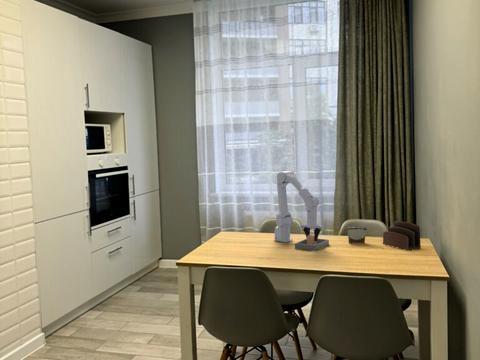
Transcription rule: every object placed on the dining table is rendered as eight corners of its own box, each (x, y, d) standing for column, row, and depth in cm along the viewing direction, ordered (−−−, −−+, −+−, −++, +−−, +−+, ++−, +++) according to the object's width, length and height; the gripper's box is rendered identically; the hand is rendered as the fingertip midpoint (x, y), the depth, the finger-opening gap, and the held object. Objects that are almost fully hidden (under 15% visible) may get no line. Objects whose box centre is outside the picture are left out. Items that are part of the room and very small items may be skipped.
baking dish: (294, 248, 259) (294, 243, 259) (309, 242, 275) (309, 237, 274) (315, 251, 252) (315, 245, 251) (328, 244, 267) (328, 239, 267)
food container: (365, 241, 275) (365, 225, 274) (367, 243, 269) (367, 227, 268) (345, 241, 276) (345, 225, 275) (346, 243, 270) (346, 227, 269)
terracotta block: (306, 243, 262) (306, 235, 262) (310, 242, 266) (310, 234, 265) (313, 244, 260) (313, 236, 259) (317, 243, 263) (317, 234, 263)
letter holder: (395, 242, 270) (395, 219, 269) (420, 249, 252) (421, 224, 251) (382, 244, 266) (382, 221, 265) (407, 251, 248) (407, 226, 247)
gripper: (297, 217, 263) (298, 240, 264) (320, 219, 254) (320, 243, 255) (303, 216, 268) (303, 238, 269) (325, 218, 260) (325, 240, 261)
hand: (312, 240), depth 263 cm, fingers closed on terracotta block, 4 cm apart
